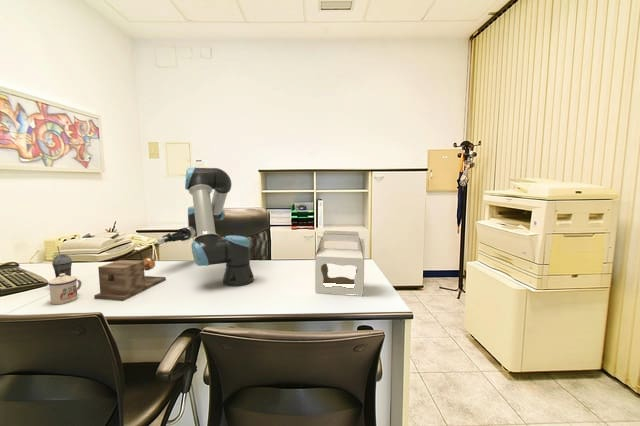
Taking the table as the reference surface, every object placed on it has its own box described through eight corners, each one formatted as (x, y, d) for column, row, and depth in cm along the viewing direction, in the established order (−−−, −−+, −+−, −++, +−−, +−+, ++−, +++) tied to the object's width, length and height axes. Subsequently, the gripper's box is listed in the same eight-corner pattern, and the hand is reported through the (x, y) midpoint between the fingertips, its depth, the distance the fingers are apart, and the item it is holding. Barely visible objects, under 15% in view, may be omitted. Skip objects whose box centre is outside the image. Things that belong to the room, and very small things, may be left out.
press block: (141, 278, 154) (139, 253, 152) (165, 280, 151) (164, 254, 150) (94, 298, 127) (92, 268, 126) (123, 300, 125) (120, 269, 123)
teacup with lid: (62, 305, 120) (59, 278, 119) (44, 303, 122) (41, 276, 120) (90, 294, 131) (88, 269, 130) (73, 293, 133) (71, 268, 132)
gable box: (314, 293, 135) (314, 232, 132) (319, 283, 148) (319, 228, 145) (363, 296, 131) (364, 234, 128) (364, 286, 144) (365, 229, 141)
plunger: (144, 268, 150) (144, 257, 150) (155, 269, 149) (154, 257, 149) (108, 283, 129) (107, 269, 129) (120, 283, 128) (119, 270, 128)
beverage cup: (77, 285, 143) (74, 244, 141) (59, 290, 137) (55, 247, 135) (69, 282, 146) (65, 243, 144) (51, 287, 140) (47, 246, 138)
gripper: (195, 240, 179) (170, 249, 156) (176, 239, 181) (148, 248, 158) (195, 228, 178) (169, 235, 155) (175, 227, 180) (147, 234, 157)
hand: (158, 241), depth 156 cm, fingers closed
